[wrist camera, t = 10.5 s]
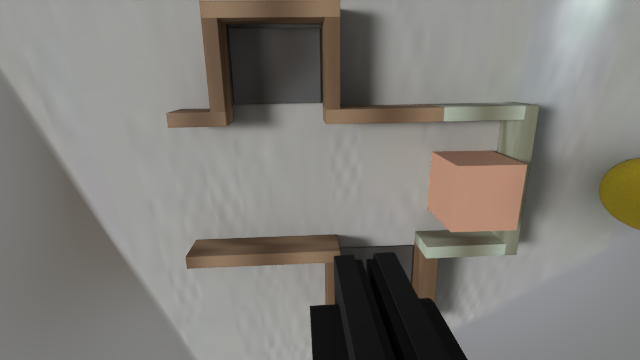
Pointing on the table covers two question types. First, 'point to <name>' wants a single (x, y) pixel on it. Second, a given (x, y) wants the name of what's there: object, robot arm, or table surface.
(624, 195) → the lemon
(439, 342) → the robot arm
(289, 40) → the wooden zigzag frame
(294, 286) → the table surface
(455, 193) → the block
